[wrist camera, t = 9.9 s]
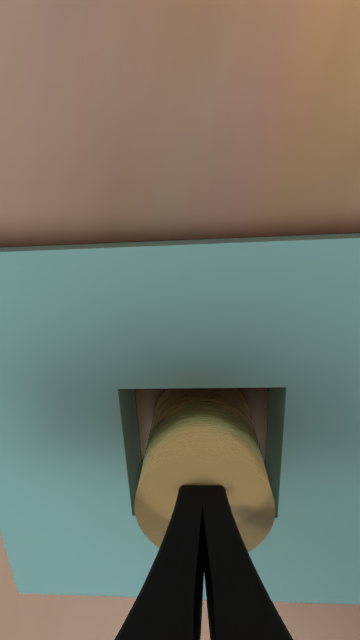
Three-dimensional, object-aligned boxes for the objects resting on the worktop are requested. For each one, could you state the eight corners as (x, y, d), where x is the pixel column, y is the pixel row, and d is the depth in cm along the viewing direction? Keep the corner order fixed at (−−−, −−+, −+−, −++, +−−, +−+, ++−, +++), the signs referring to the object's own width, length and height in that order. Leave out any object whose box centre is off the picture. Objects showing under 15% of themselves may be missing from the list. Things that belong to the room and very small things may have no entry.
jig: (443, 229, 11) (507, 232, 9) (378, 549, 16) (409, 606, 14) (-27, 248, 13) (-79, 255, 10) (42, 542, 17) (18, 592, 15)
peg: (250, 373, 14) (279, 454, 9) (248, 455, 15) (272, 563, 10) (151, 374, 14) (128, 454, 9) (158, 455, 15) (140, 560, 11)
